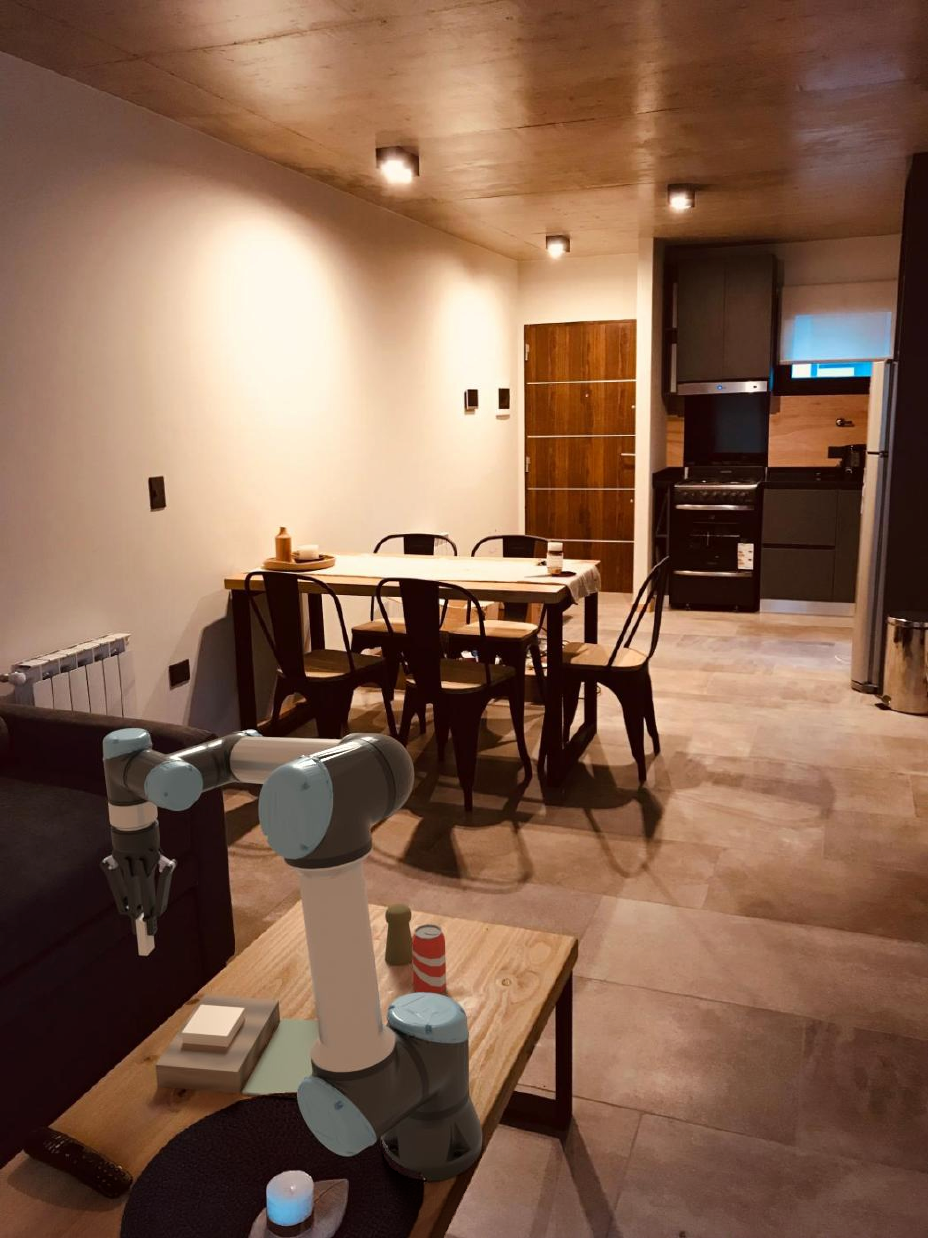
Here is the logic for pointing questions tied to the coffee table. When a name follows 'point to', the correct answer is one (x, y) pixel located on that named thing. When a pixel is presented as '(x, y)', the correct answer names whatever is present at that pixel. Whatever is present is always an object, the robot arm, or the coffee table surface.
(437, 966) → the beverage can
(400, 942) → the pepper mill
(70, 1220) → the coffee table surface
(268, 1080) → the mat
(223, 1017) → the coaster
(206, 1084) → the tan flat block
